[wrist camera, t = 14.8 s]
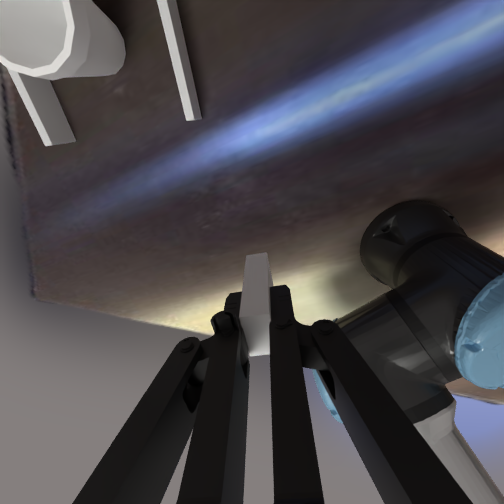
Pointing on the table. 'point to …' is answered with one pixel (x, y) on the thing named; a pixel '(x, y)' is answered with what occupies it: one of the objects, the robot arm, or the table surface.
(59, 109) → the box
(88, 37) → the foam cup
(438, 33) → the table surface
